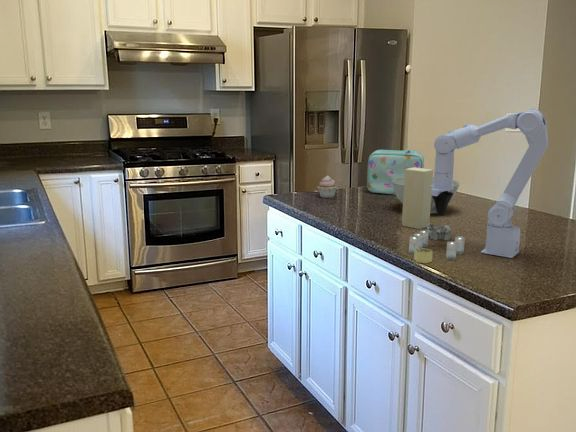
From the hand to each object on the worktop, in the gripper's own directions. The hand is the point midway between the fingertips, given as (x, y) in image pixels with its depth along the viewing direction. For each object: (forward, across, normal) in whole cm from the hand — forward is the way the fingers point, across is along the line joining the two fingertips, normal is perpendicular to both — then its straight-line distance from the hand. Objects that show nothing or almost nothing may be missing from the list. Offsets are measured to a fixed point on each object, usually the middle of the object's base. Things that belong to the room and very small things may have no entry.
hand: (440, 214), depth 183 cm
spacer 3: (+10, +4, -4) cm, 11 cm away
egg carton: (+10, -10, -4) cm, 15 cm away
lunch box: (+10, -72, -49) cm, 88 cm away
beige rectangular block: (+10, -19, -16) cm, 27 cm away
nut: (+10, +19, +2) cm, 22 cm away
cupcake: (+10, -46, -71) cm, 85 cm away
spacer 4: (+10, +12, +8) cm, 18 cm away
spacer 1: (+10, +14, -3) cm, 17 cm away
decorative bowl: (+10, -45, -24) cm, 52 cm away
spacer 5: (+10, +6, +8) cm, 14 cm away
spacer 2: (+10, +9, -4) cm, 14 cm away
